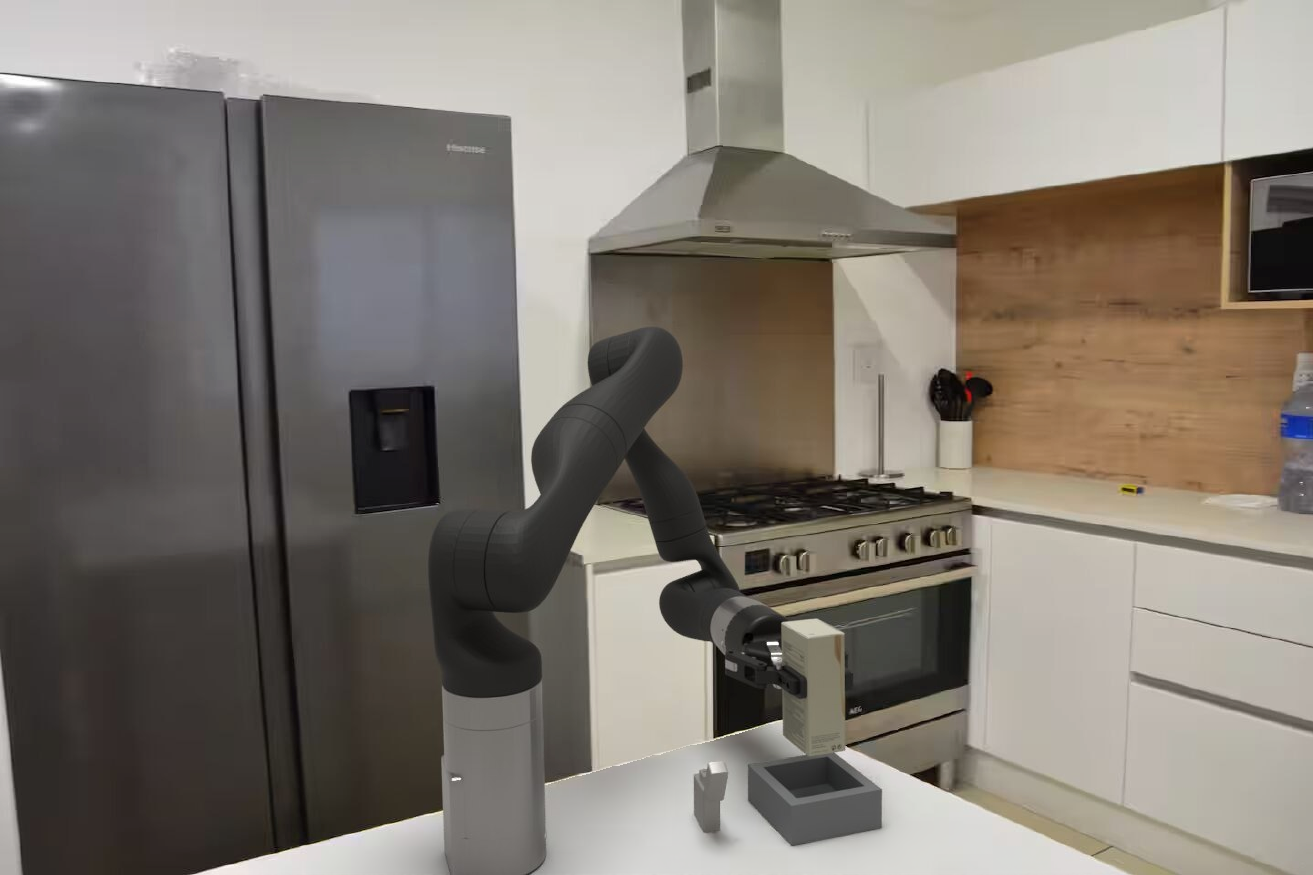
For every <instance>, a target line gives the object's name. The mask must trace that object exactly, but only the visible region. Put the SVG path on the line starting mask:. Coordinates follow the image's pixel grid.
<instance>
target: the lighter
mask: <svg viewBox="0 0 1313 875" xmlns="http://www.w3.org/2000/svg"><path fill="white" fill-rule="evenodd" d="M728 770H729V769H728V767H727V764H726V762H725V761H724V760H720V761H712V762H710V761H709V762H708V763H707V767H706V768H702V769H699V770H698V773H694V774H693V816H694V817H695V820H696V821H697V823H698V825H699V827H700V829H701V830H702V833H703V834H706V833H707V834H708V833H717V832H720V831H721V802H722V801H725V797H726V796H725V795H726V790H727V783H728V778H729V771H728Z"/></svg>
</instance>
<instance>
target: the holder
mask: <svg viewBox="0 0 1313 875" xmlns="http://www.w3.org/2000/svg"><path fill="white" fill-rule="evenodd" d="M747 802H748V803H749V804H750V805H751V806H752V807H753V808H754V809H755V810H756V811H757V813H759V814H760V815H761V816H762V817H763V818H764V820H766V821H767V822H768V823H769V825H771V826H772V827H773V829H775V830H776V832H777V833H779V835H781V837H782V838H783V839H784V840H785V841H786V842H787V843H788V844H789V845H790V846H791V847H792V846H797V845H802V844H807V843H808V844H809V843H812V842H813V843H814V842H818V841H823V840H827V839H833V838H837V837H842V836H848V835H854V834H857V833H858V834H859V833H863V832H867V831H871V830H872V831H873V830H877V829H882V827H883V826H882V825H883V822H882V821H883V820H882V818H883V816H882V815H883V812H882V811H883V789H882V788H881V787H880V786H878V784H876V783H874V782H873V781H872V780H871V779H869V777H867V776H865V775H864V774H863V773H861V772H860V771H859V770H858V769H857V768H855V767H854V766H853V765H851V764H850V763H848V762H847V760H844V758H842V757H841V756H839V755H838V754H837V752H834V753H829V754H822V755H815V756H807V755H806V754H804V755H803V754H801V755H798V756H797V755H796V756H791V757H785V758H779V759H778V758H777V759H774V760H767V761H760V762H754V763H749V764H747Z"/></svg>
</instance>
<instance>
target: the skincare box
mask: <svg viewBox="0 0 1313 875" xmlns="http://www.w3.org/2000/svg"><path fill="white" fill-rule="evenodd" d="M781 633H782V659H783V660H784V661H785V663H786V667H787V666H790V667H792V668H793V669H795V670H796V671H797V672H799V673H800V674H802V675H803V676H805V677H806V679H807V698H804V699H798V698H797V697H795V696H794V695H791V694H789V693H787V692H786V691H785V690H784V689H781V692H782V695H781V696H782V699H781V700H782V706H781V707H782V736H783V737H784V738H785V739H787V740H788V741H789V742H790V743H791V744H792V745H793V746H795V747H796V748H797V749H799V750H800V752H802V753H803V754H804V755H807V756H815V755H822V754H829V753H838V752H845V751H846V692H845V648H846V646H845V636H846V634H845V632H843V631H841V630H840V629H838V628H836V627H834V626H833V625H831V624H828V623H826V622H825V621H823V620H820V619H819V618H808V619H799V620H790V621H788V622H782V623H781Z"/></svg>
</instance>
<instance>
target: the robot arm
mask: <svg viewBox="0 0 1313 875" xmlns="http://www.w3.org/2000/svg"><path fill="white" fill-rule="evenodd" d="M683 363H684V362H683V354H682V349H681V347H680V344H679V343H678V341H677V339H676V337H675V336H674V335H672V333H671V332H669V331H668V330H666V329H665V328H662V327H658V326H646V327H645V326H644V327H641V328H637V329H633V330H631V331H627V332H624V333H619V334H617V335H613V336H610V337H607V338H603V339H601V340H599V341H596V342H594V343H593V344H592V346H591V348H590V349H589V352H588V355H587V371H588V372H587V373H588V376H589V380H590V384H591V386H590V387H588V388H586V389H585V390H583V391H581V392H580V393H578V394H576V395H575V396H574V397H572V398H571V399H570V400H568V401H566V403H564V404H563V405H562V406H561V407H560V408H559V409H558V410H557V411H556V412H555V413H554V414H553V416H552V417H551V418H550V419H549V421H548V422H547V423H546V424H545V425H544V426H543V428H542V429H541V430H540V432H539V433H538V435H537V437H536V438H535V440H534V442H533V445H532V448H531V457H530V459H531V460H530V462H531V470H532V474H533V477H534V481H535V484H536V486H537V489H538V492H539V494H540V495H539V496H538V497H537V499H536V500H535V501H534V503H533V504H531V505H530V506H529V507H527V508H524V509H522V510H498V509H480V508H478V509H477V508H476V509H475V508H473V509H472V508H459V509H453V510H450V511H448V512H446V513H445V514H444V515H443V516H442V517H441V518H440V519H439V521H438V522H437V524H436V526H435V527H434V529H433V532H432V536H431V538H430V543H429V549H428V559H427V574H428V575H427V577H428V590H429V603H430V612H431V620H432V621H431V622H432V631H433V632H432V633H433V634H432V636H433V648H434V649H433V650H434V654H435V657H436V661H437V663H438V666H439V669H440V673H441V674H440V676H441V696H442V697H441V698H442V699H441V700H442V721H443V722H442V726H443V727H442V728H443V731H442V732H443V753H444V754H443V755H441V760H440V761H441V786H442V787H441V788H442V789H441V791H442V819H443V845H444V846H443V847H444V848H443V850H444V854H445V857H446V861H447V865H448V869H449V874H450V875H527V874H529V873H532V872H533V871H534V870H537V868H538V867H540V865H542V864H543V862H544V860H545V859H546V856H547V827H546V826H547V824H546V823H547V821H546V820H547V819H546V817H547V816H546V788H545V787H546V786H545V785H546V784H545V780H546V779H545V778H546V777H545V752H544V751H545V750H544V749H545V748H544V747H545V745H544V743H545V742H544V712H543V711H544V709H543V708H544V707H543V661H542V654H541V652H540V650H539V648H538V647H537V646H536V644H534V643H533V642H532V641H530V640H528V639H527V638H524V637H522V636H520V635H519V634H517V633H516V632H513V631H512V630H510V629H509V628H508V627H507V626H506V625H504V624H503V623H502V621H500V619H499V618H498V617H497V616H496V615H495V612H496V613H509V614H511V613H512V614H516V613H517V614H518V613H519V614H520V613H527V612H530V611H533V610H535V609H537V608H538V607H539V606H540V605H541V604H542V603H543V602H545V600H546V598H547V597H548V595H549V594H550V593H551V591H552V589H553V588H554V586H555V584H556V582H557V580H558V578H559V576H560V574H561V572H562V570H563V567H564V565H565V563H566V561H567V559H568V557H569V554H570V552H571V550H572V548H573V546H574V544H575V542H576V540H577V538H578V535H579V533H580V531H581V529H582V527H583V525H584V523H585V521H586V519H587V518H588V516H589V515H590V513H591V511H592V510H593V508H594V506H595V504H596V503H597V501H598V499H599V497H601V495H602V493H603V491H605V490H606V487H607V486H608V484H610V482H611V481H612V480H613V477H614V476H615V474H616V473H617V472H618V470H619V468H620V467H621V465H622V464H623V462H624V461H625V463H626V465H627V467H628V468H629V469H628V470H629V471H630V473H631V476H632V478H633V480H634V482H635V484H636V487H637V490H638V492H639V495H640V497H641V501H642V503H643V505H644V506H643V507H644V509H645V512H646V516H647V519H648V523H649V526H650V530H651V534H652V536H653V539H654V543H655V546H656V549H657V550H656V551H657V552H658V554H659V556H660V559H662V560H663V561H664V562H665V561H666V562H668V563H677V562H678V563H679V562H685V561H686V562H687V561H697V563H698V564H699V566H700V569H701V570H698V571H696V572H693V573H691V574H690V573H689V574H687V575H686V576H683V577H679V578H676V579H674V580H672V581H670V582H669V583H667V584H666V585H665V586H664V587H663V589H662V590H661V592H660V595H659V599H658V604H659V606H658V607H659V611H660V615H661V616H662V619H663V620H664V622H665V623H666V624H667V625H668V626H669V628H670V629H672V631H674V632H675V633H677V634H678V635H680V636H682V637H685V638H688V639H692V640H697V641H702V642H710V643H712V644H713V645H714V646H716V647H717V648H718V650H720V652H721V653H722V654H723V655H724V656H725V657H724V658H725V659H724V664H725V665H724V667H725V669H724V670H725V672H724V674H725V676H728V677H730V678H732V679H733V680H734V679H735V680H737V681H740V682H742V683H745V684H747V685H749V686H751V687H753V688H756V689H759V690H765V689H767V688H768V685H773V687H774V688H775V689H778V690H782V689H784V690H785V691H786V692H787V693H789V694H791V695H794V696H795V697H797V698H798V699H804V698H807V679H806V677H805V676H803V675H802V674H800V673H799V672H797V671H796V670H795V669H793V668H792V667H790V666H787V667H786V663H785V661H784V660H783V659H782V633H781V623H782V622H788V621H791V620H790V619H789V618H788V617H786V616H785V615H783V614H781V613H780V612H777V611H776V610H775V609H773V608H771V607H769V605H766V604H764V603H763V602H761V601H759V600H755V599H754V598H753V599H752V598H750V597H748V596H747V595H745V594H744V593H742V592H741V589H740V587H739V584H738V582H737V580H736V578H735V577H734V575H733V574H732V572H731V571H730V570H729V568H728V566H727V565H726V563H725V562H724V560H723V559H722V557H721V555H720V554H719V552H718V550H717V548H716V546H715V544H714V542H713V540H712V538H711V536H710V533H709V529H708V526H707V524H706V520H705V516H704V513H703V509H702V506H701V503H700V499H699V496H698V493H697V491H696V489H695V487H694V485H693V483H692V482H691V480H690V479H689V477H688V476H687V475H686V474H685V472H684V471H683V470H682V468H680V467H679V466H678V465H677V463H675V461H673V460H672V459H671V458H670V456H668V454H666V453H665V452H664V451H663V450H662V449H661V448H660V447H659V446H658V445H657V443H656V442H655V441H654V439H652V437H651V436H650V435H649V433H648V431H647V430H646V429H645V428H646V426H647V424H648V423H649V422H650V420H651V419H652V418H653V417H654V415H655V414H657V412H658V411H659V410H660V408H662V407H663V406H664V405H665V404H666V402H667V401H669V399H670V398H671V397H672V396H673V395H674V393H676V391H677V389H678V388H679V385H680V382H681V380H682V375H683V366H684V365H683ZM849 659H850V652H849V651H848V650H847V648H846V647H845V693H849V692H852V689H853V687H854V672H853V670H851V669H849Z"/></svg>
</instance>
